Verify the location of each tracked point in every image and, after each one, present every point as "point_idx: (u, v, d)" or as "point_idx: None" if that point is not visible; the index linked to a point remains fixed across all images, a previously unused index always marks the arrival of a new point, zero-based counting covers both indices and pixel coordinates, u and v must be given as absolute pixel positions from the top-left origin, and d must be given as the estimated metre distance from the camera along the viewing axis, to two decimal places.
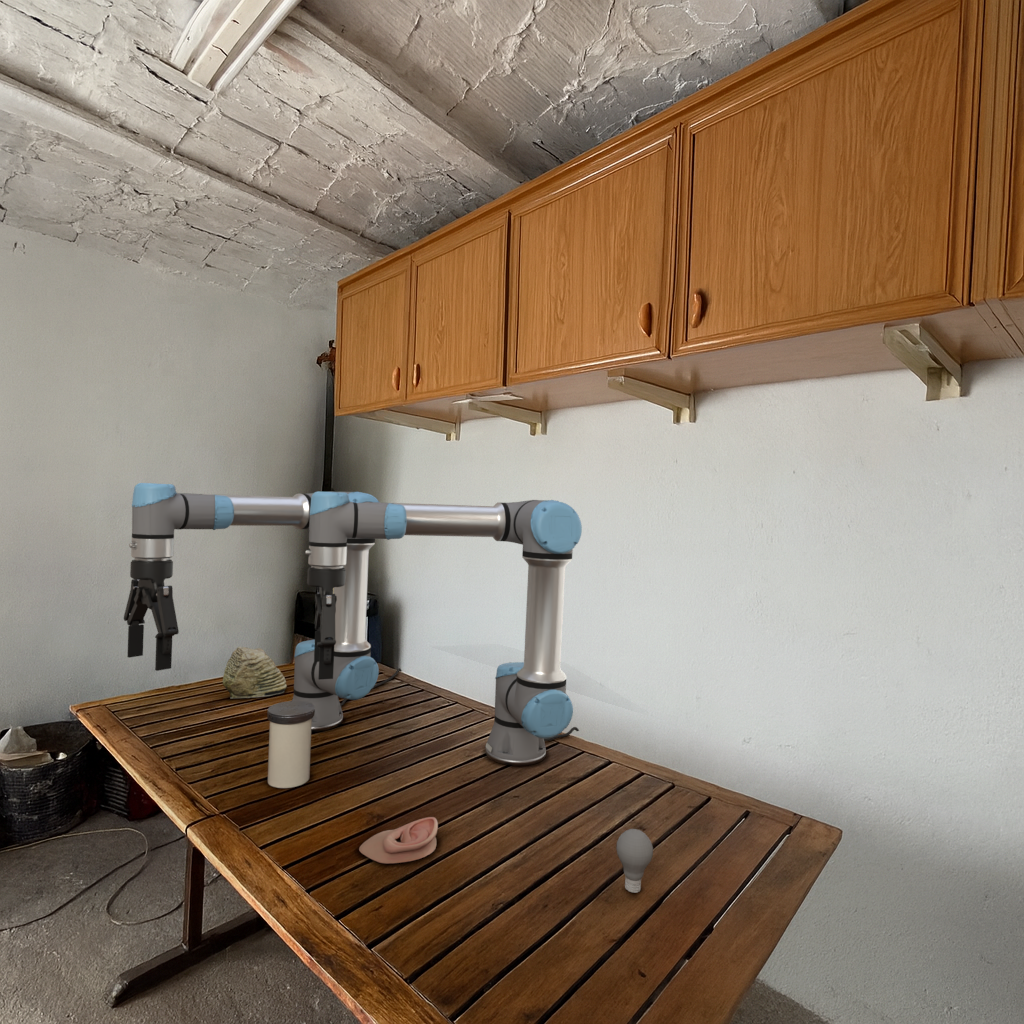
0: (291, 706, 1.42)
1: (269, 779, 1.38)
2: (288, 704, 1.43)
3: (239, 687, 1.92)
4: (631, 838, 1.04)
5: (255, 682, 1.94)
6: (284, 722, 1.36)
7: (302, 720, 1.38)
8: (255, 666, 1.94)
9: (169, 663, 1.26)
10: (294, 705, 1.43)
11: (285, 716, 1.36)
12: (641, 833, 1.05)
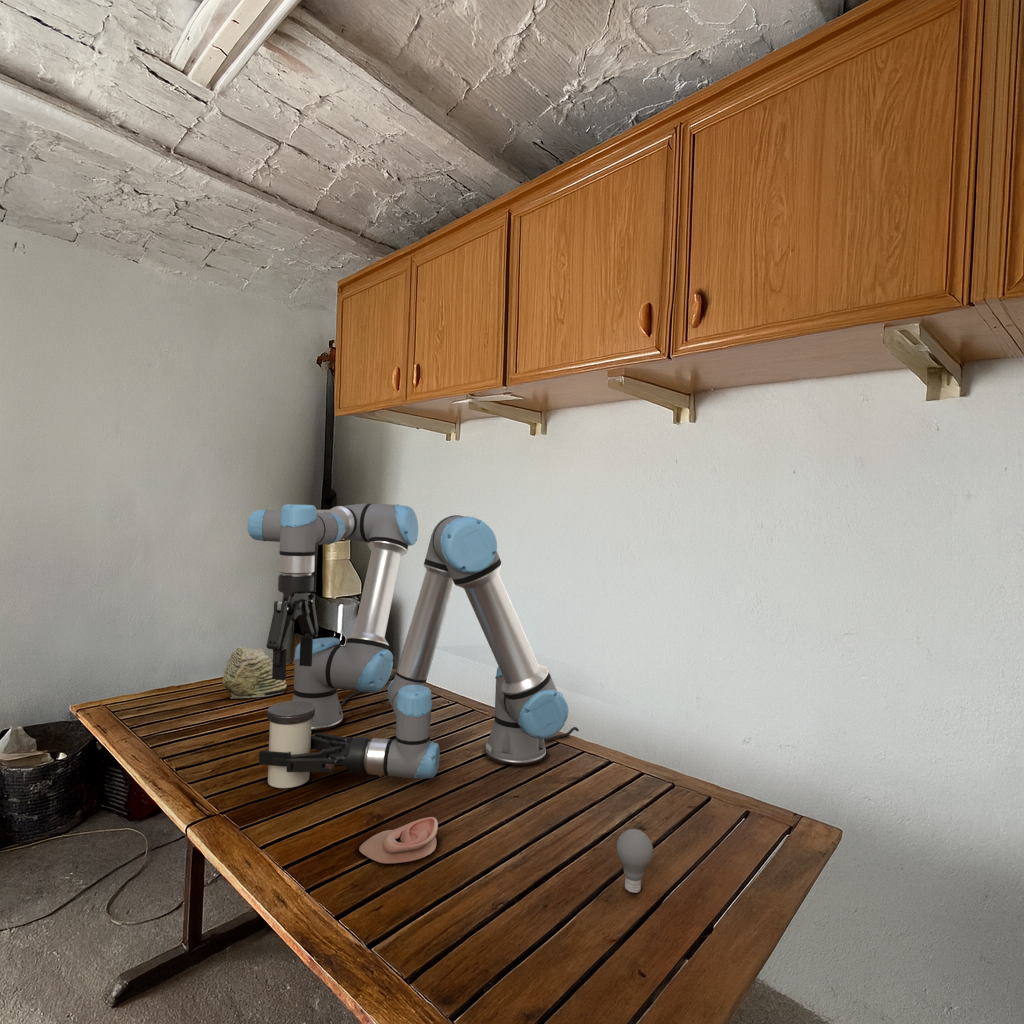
0: (291, 706, 1.42)
1: (269, 779, 1.38)
2: (288, 704, 1.43)
3: (239, 687, 1.92)
4: (631, 838, 1.04)
5: (255, 682, 1.94)
6: (284, 722, 1.36)
7: (302, 720, 1.38)
8: (255, 666, 1.94)
9: (282, 675, 1.35)
10: (294, 705, 1.43)
11: (285, 716, 1.36)
12: (641, 833, 1.05)
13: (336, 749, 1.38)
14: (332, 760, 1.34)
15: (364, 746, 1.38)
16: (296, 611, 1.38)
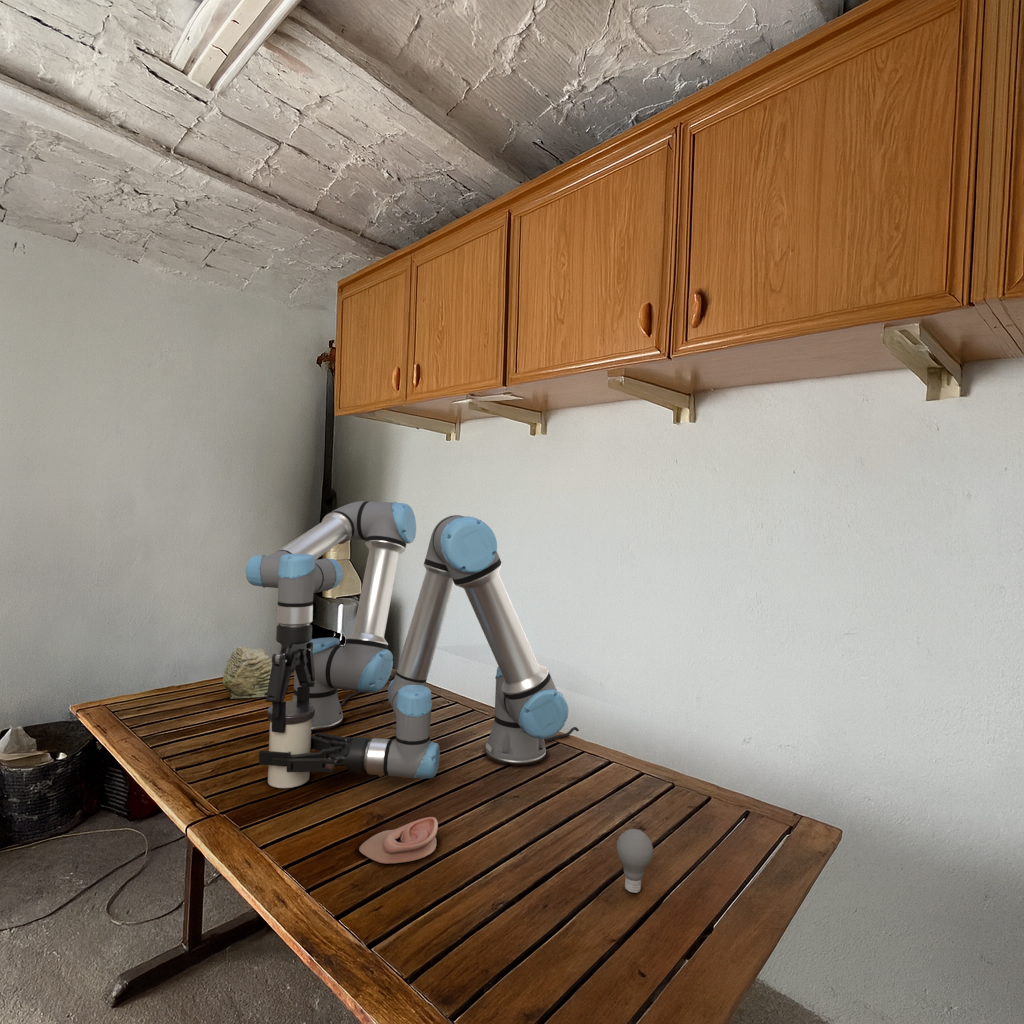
0: (291, 706, 1.42)
1: (269, 779, 1.38)
2: (288, 704, 1.43)
3: (239, 687, 1.92)
4: (631, 838, 1.04)
5: (255, 682, 1.94)
6: None
7: (302, 720, 1.38)
8: (255, 666, 1.94)
9: (281, 727, 1.35)
10: (294, 705, 1.43)
11: None
12: (641, 833, 1.05)
13: (336, 749, 1.38)
14: (332, 760, 1.34)
15: (364, 746, 1.38)
16: (294, 662, 1.38)
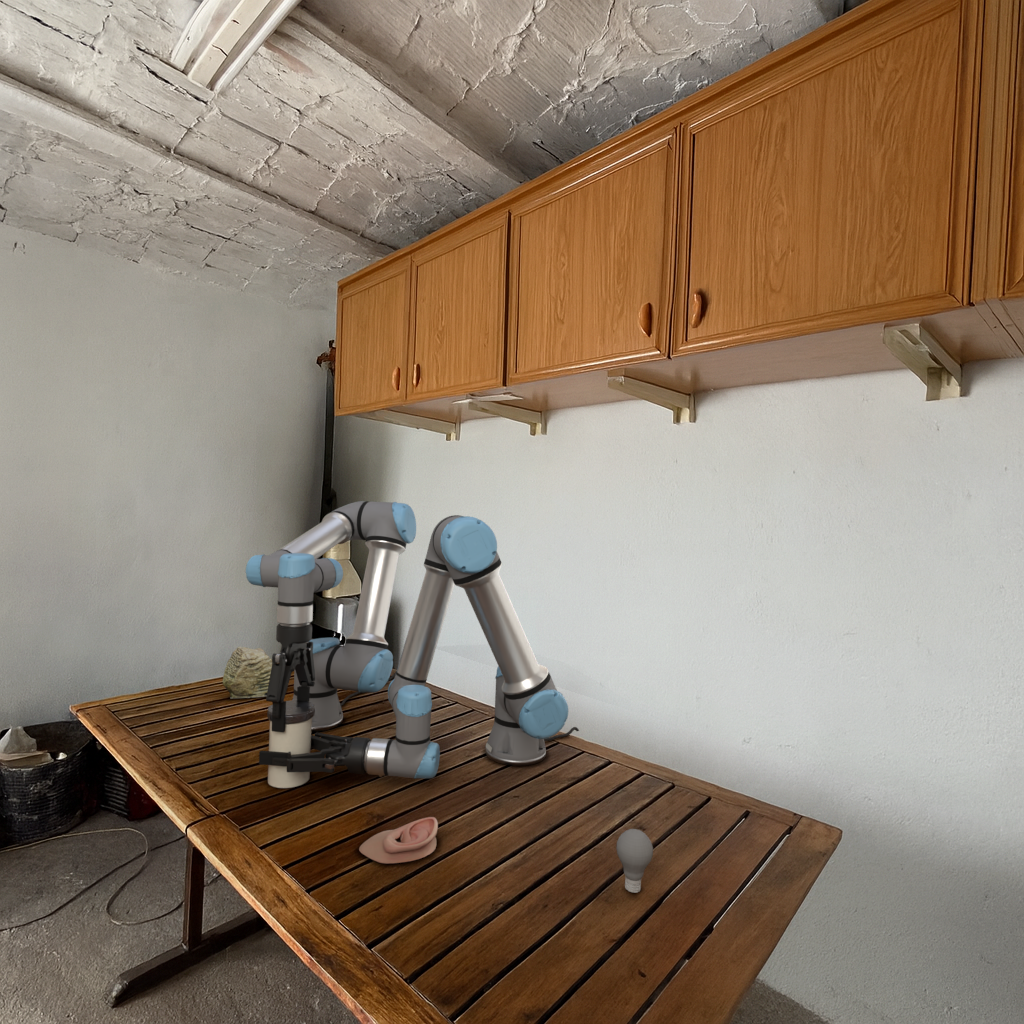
0: (287, 706, 1.41)
1: (269, 779, 1.38)
2: None
3: (239, 687, 1.92)
4: (631, 838, 1.04)
5: (255, 682, 1.94)
6: (308, 717, 1.39)
7: (314, 712, 1.43)
8: (255, 666, 1.94)
9: (281, 727, 1.35)
10: None
11: (309, 711, 1.39)
12: (641, 833, 1.05)
13: (336, 749, 1.38)
14: (332, 760, 1.34)
15: (364, 746, 1.38)
16: (294, 662, 1.38)
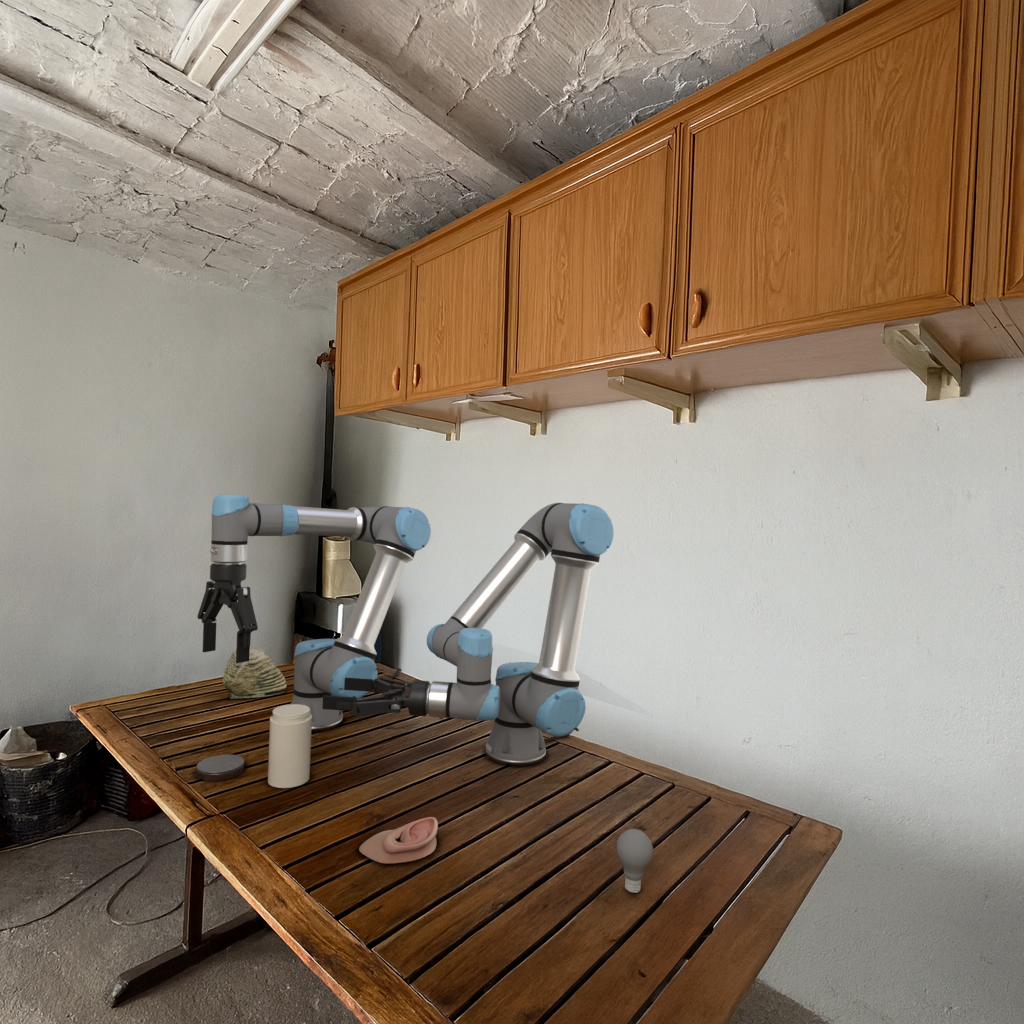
0: (221, 764, 1.43)
1: (269, 779, 1.38)
2: (225, 766, 1.42)
3: (239, 687, 1.92)
4: (631, 838, 1.04)
5: (255, 682, 1.94)
6: None
7: None
8: (255, 666, 1.94)
9: (247, 656, 1.40)
10: (218, 766, 1.42)
11: None
12: (641, 833, 1.05)
13: (398, 691, 1.37)
14: (399, 700, 1.33)
15: (425, 688, 1.37)
16: None
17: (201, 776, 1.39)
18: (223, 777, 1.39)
